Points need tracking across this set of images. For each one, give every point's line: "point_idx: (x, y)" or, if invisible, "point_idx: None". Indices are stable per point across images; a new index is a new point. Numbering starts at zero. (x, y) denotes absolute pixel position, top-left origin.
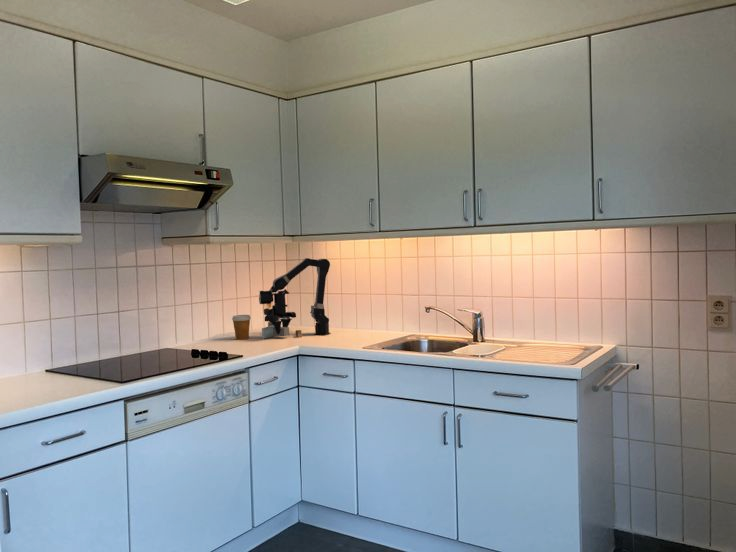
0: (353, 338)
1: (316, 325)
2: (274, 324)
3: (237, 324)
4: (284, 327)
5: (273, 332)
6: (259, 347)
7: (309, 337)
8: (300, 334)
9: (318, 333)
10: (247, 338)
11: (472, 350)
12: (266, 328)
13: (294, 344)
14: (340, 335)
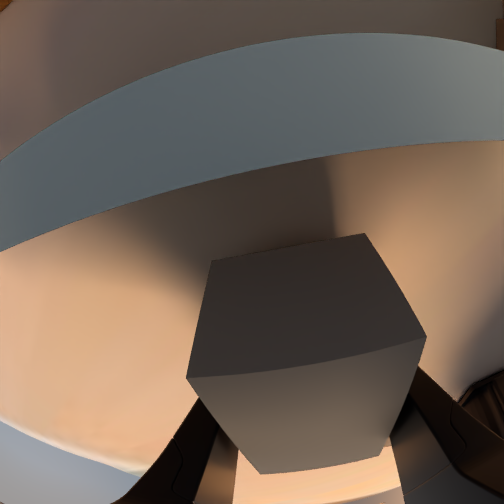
0: (372, 479)
1: (501, 429)
2: (147, 500)
3: None
4: (346, 449)
5: (207, 310)
6: (7, 385)
7: None
8: None
9: (465, 407)
10: (3, 5)
11: None
12: (63, 215)
13: (155, 459)
14: None
